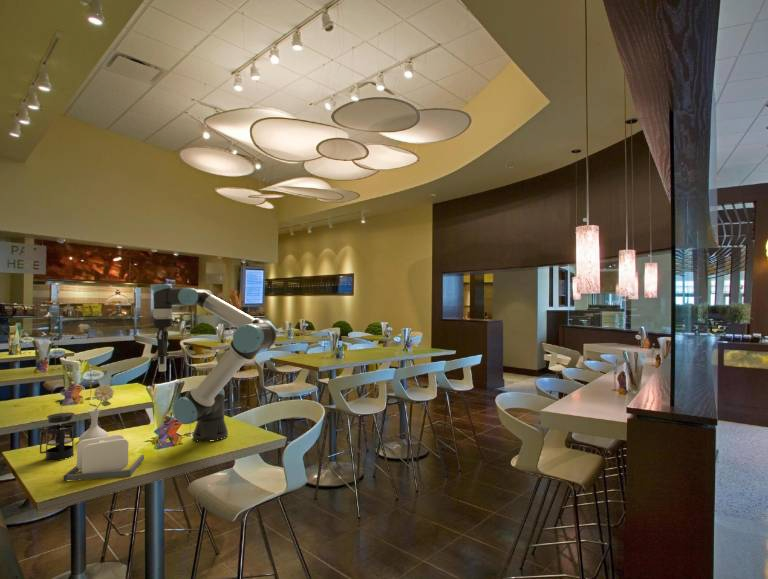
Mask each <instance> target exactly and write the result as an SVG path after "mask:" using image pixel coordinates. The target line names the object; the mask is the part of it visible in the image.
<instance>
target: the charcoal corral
mask: <svg viewBox="0 0 768 579" xmlns="http://www.w3.org/2000/svg"><path fill="white" fill-rule="evenodd" d="M143 460H144V461H145V455H144V454H141V455H140V456H139V457H138V458H137V459H135V461H134V463H132V465H131V466H130V467H129V469H122V470H117V471H105V472H93V473H82V472H80V471H79V469H77V464H76V465H75V466H74V467H72V468H71V469H70V470H69V471H68V472H66V473H65V474H64V475H63V478H62V482H63V481H66V482H68V481H67V480H77V481H80V480H79V479H89V480H95V479H94V478H101V479H110V478H111V477H113V478H123V477H122V476H124V477H132V475H133V473H135V471H137V469H138V468H139V466H140V465H141V464H142V463H143V462H144V461H143ZM142 461H143V462H142ZM141 462H142V463H141ZM76 472H77V473H76ZM79 472H80V473H79ZM75 473H76V474H75Z"/></svg>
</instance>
